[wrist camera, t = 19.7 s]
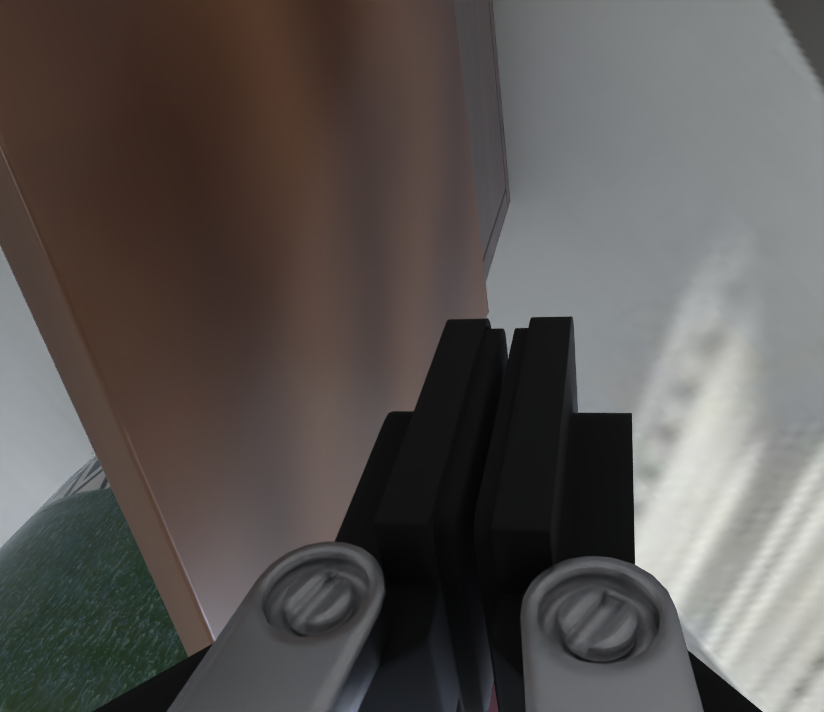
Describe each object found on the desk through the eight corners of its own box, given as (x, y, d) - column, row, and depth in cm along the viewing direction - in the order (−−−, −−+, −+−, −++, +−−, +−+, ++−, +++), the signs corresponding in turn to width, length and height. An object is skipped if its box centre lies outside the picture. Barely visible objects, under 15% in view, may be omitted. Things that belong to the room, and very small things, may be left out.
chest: (214, 220, 37) (113, 315, 29) (129, -64, 30) (-24, -34, 23) (510, 202, 33) (479, 305, 26) (481, -124, 27) (430, -110, 20)
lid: (205, 699, 14) (241, 711, 14) (-112, 10, 8) (-60, 2, 8) (466, 311, 25) (489, 312, 25) (412, -107, 19) (442, -112, 19)
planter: (311, 257, 36) (28, 645, 19) (531, 537, 43) (471, 1014, 26) (66, 409, 46) (-277, 766, 28) (279, 621, 52) (108, 1015, 35)
